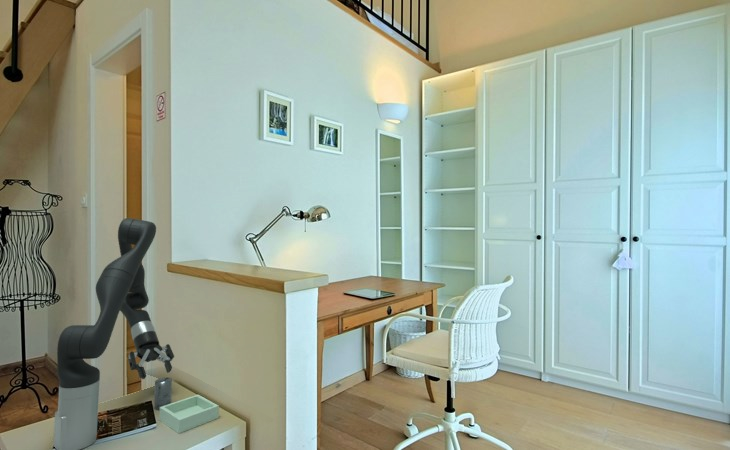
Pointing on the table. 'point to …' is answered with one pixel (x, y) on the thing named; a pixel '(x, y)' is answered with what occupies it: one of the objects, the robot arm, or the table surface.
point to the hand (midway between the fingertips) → (157, 374)
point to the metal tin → (162, 392)
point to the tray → (188, 413)
